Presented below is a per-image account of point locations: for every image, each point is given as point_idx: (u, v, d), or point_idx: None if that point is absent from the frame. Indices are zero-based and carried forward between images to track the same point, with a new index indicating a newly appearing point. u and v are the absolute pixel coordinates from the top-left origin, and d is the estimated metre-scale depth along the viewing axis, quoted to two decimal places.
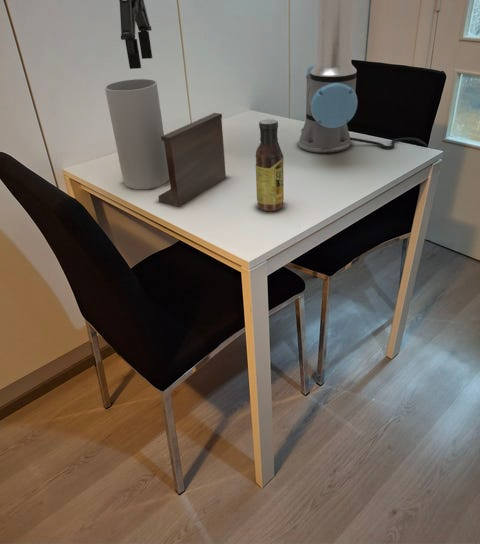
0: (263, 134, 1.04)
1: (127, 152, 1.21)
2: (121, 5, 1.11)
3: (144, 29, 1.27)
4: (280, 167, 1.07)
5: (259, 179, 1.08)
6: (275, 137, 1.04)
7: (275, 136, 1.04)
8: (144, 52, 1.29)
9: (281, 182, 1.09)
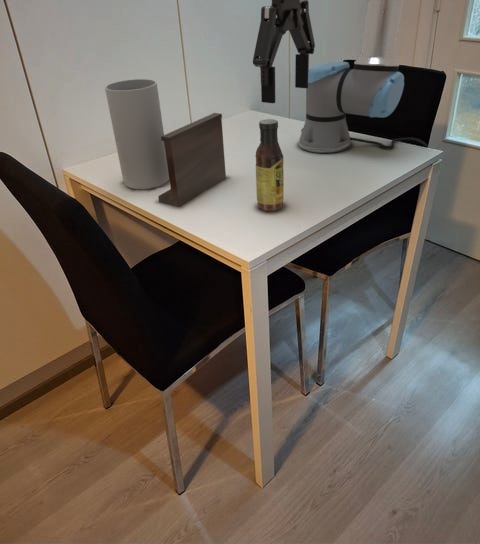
0: (263, 134, 1.04)
1: (127, 152, 1.21)
2: (262, 24, 0.87)
3: (304, 52, 1.00)
4: (280, 167, 1.07)
5: (259, 179, 1.08)
6: (275, 137, 1.04)
7: (275, 136, 1.04)
8: (299, 80, 1.03)
9: (281, 182, 1.09)
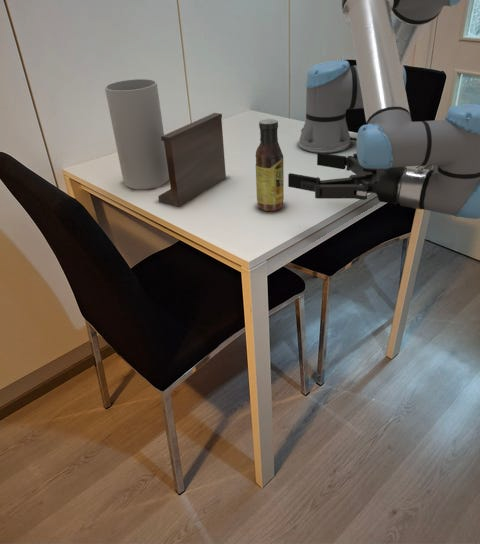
0: (263, 134, 1.04)
1: (127, 152, 1.21)
2: (351, 188, 0.92)
3: (347, 164, 1.06)
4: (280, 167, 1.07)
5: (259, 179, 1.08)
6: (275, 137, 1.04)
7: (275, 136, 1.04)
8: (323, 158, 1.07)
9: (281, 182, 1.09)
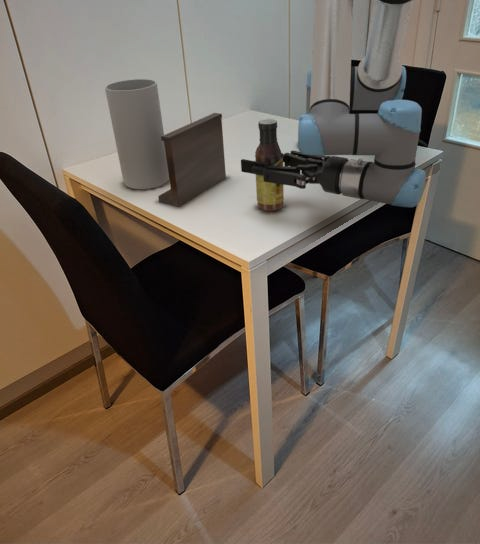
0: (262, 134, 1.03)
1: (127, 152, 1.21)
2: (292, 176, 0.99)
3: (284, 160, 1.10)
4: None
5: (259, 179, 1.08)
6: (274, 137, 1.04)
7: (274, 136, 1.04)
8: None
9: None
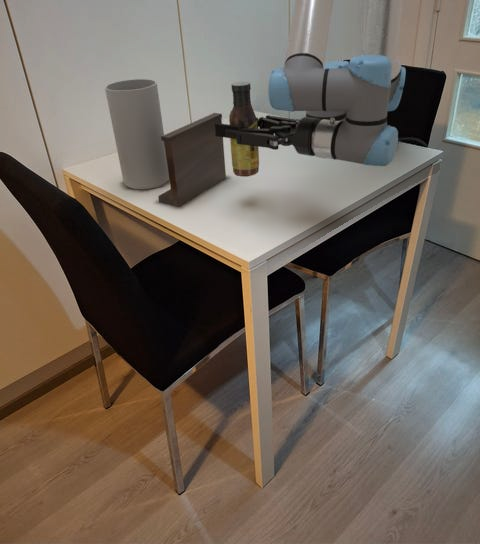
0: (236, 96, 1.02)
1: (127, 152, 1.21)
2: (264, 137, 0.98)
3: (259, 125, 1.09)
4: None
5: (233, 143, 1.07)
6: (248, 99, 1.03)
7: (248, 98, 1.03)
8: None
9: (255, 146, 1.08)
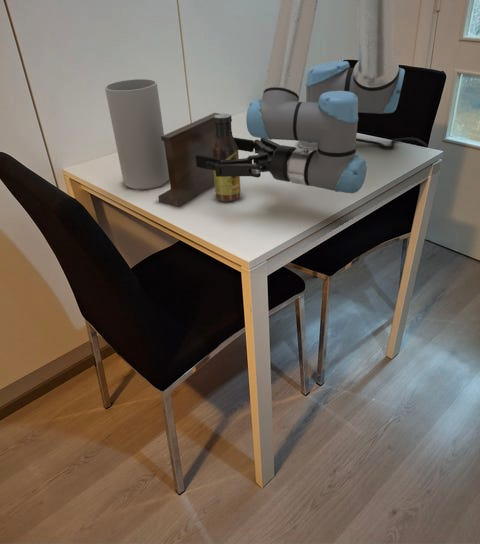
0: (217, 128, 1.09)
1: (127, 152, 1.21)
2: (246, 167, 1.03)
3: (255, 147, 1.17)
4: None
5: None
6: (229, 131, 1.10)
7: (229, 130, 1.10)
8: None
9: None
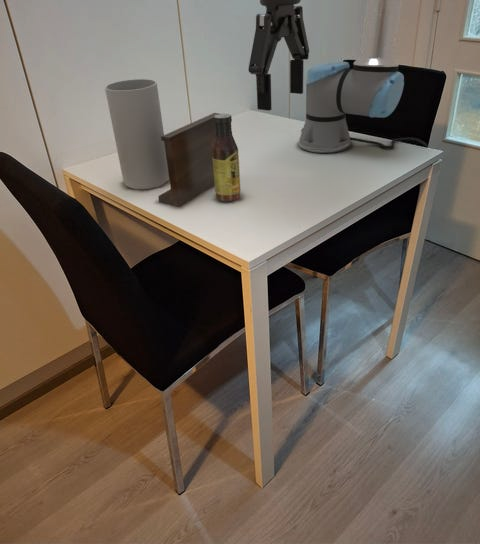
0: (217, 128, 1.09)
1: (127, 152, 1.21)
2: (257, 31, 0.86)
3: (299, 57, 1.00)
4: (234, 159, 1.12)
5: (216, 171, 1.14)
6: (229, 131, 1.10)
7: (229, 130, 1.10)
8: (294, 85, 1.02)
9: (236, 174, 1.14)
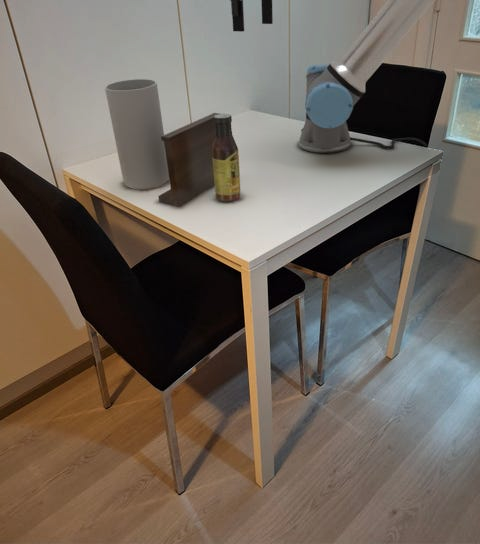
0: (217, 128, 1.09)
1: (127, 152, 1.21)
2: None
3: None
4: (234, 159, 1.12)
5: (216, 171, 1.14)
6: (229, 131, 1.10)
7: (229, 130, 1.10)
8: (265, 17, 1.24)
9: (236, 174, 1.14)
